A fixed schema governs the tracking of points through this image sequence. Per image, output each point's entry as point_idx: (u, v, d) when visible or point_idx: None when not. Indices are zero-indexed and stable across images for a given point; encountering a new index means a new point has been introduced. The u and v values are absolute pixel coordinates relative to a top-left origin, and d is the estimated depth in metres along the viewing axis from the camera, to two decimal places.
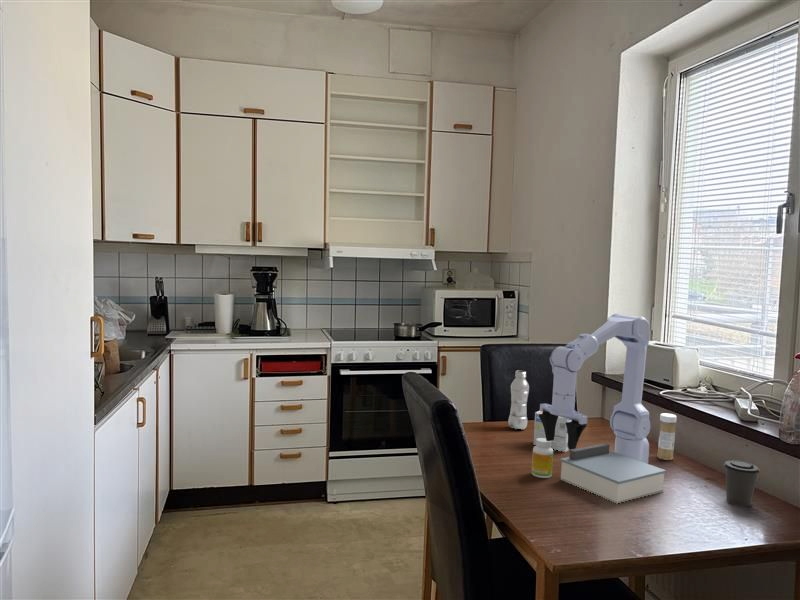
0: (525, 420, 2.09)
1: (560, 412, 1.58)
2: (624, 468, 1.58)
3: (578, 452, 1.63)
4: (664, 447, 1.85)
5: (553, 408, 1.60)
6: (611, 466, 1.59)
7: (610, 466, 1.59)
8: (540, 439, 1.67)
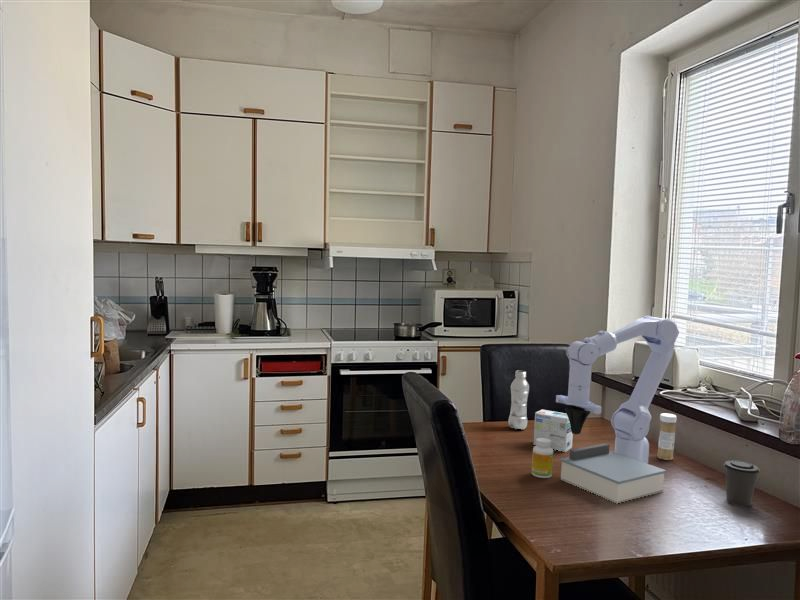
0: (525, 420, 2.09)
1: (576, 403, 1.68)
2: (624, 468, 1.58)
3: (578, 452, 1.63)
4: (664, 447, 1.85)
5: (569, 399, 1.70)
6: (611, 466, 1.59)
7: (610, 466, 1.59)
8: (540, 439, 1.67)
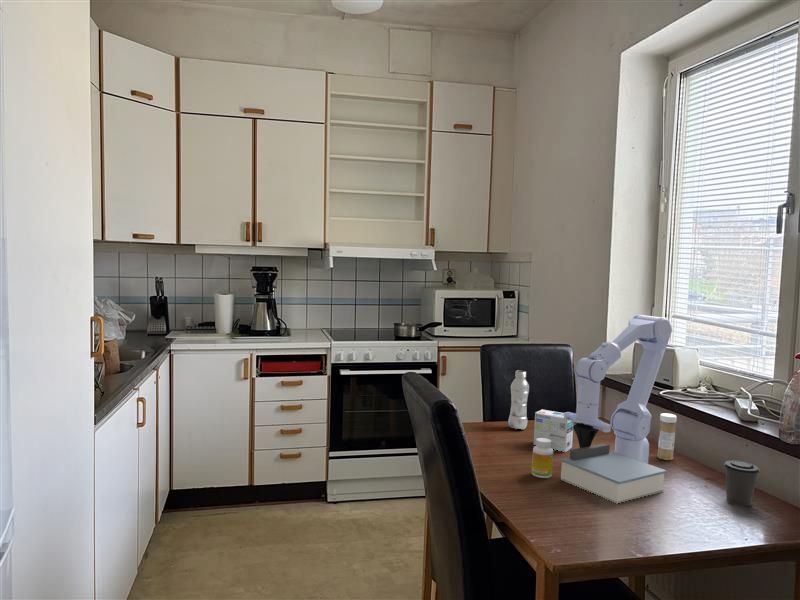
0: (525, 420, 2.09)
1: (584, 420, 1.65)
2: (625, 468, 1.58)
3: (578, 453, 1.63)
4: (664, 446, 1.85)
5: (577, 417, 1.67)
6: (611, 466, 1.59)
7: (610, 466, 1.59)
8: (540, 439, 1.67)
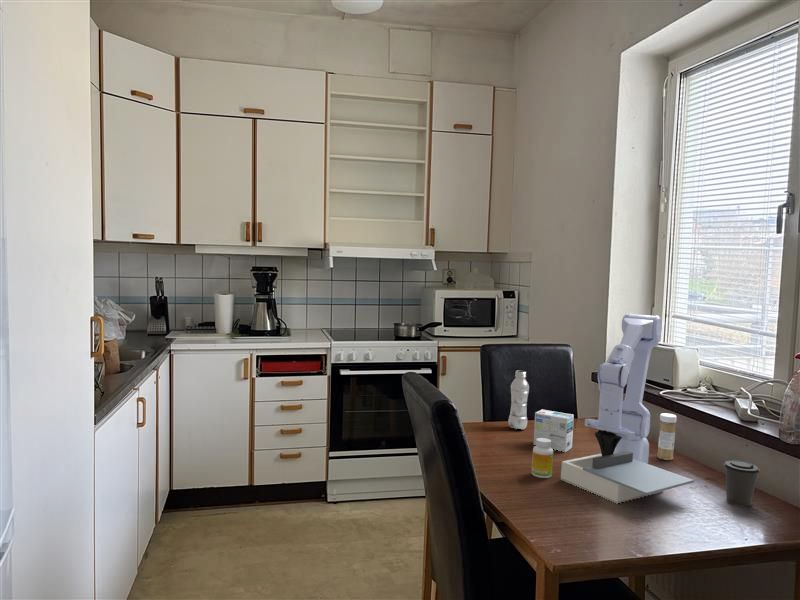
0: (525, 420, 2.09)
1: (607, 428, 1.59)
2: (650, 477, 1.52)
3: (601, 461, 1.57)
4: (664, 447, 1.85)
5: (600, 423, 1.61)
6: (636, 475, 1.53)
7: (635, 475, 1.53)
8: (540, 439, 1.67)
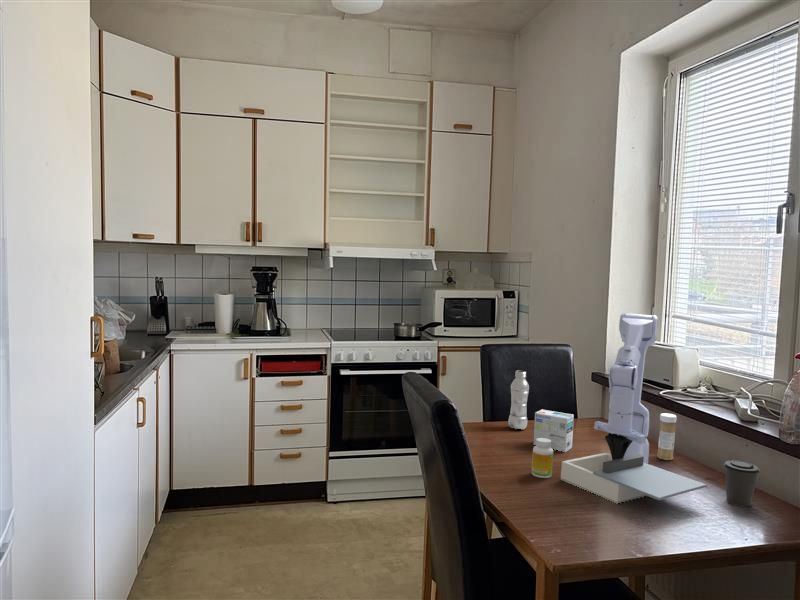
0: (525, 420, 2.09)
1: (618, 431, 1.56)
2: (662, 482, 1.49)
3: (612, 465, 1.54)
4: (664, 447, 1.85)
5: (610, 427, 1.58)
6: (648, 480, 1.50)
7: (647, 480, 1.50)
8: (540, 439, 1.67)
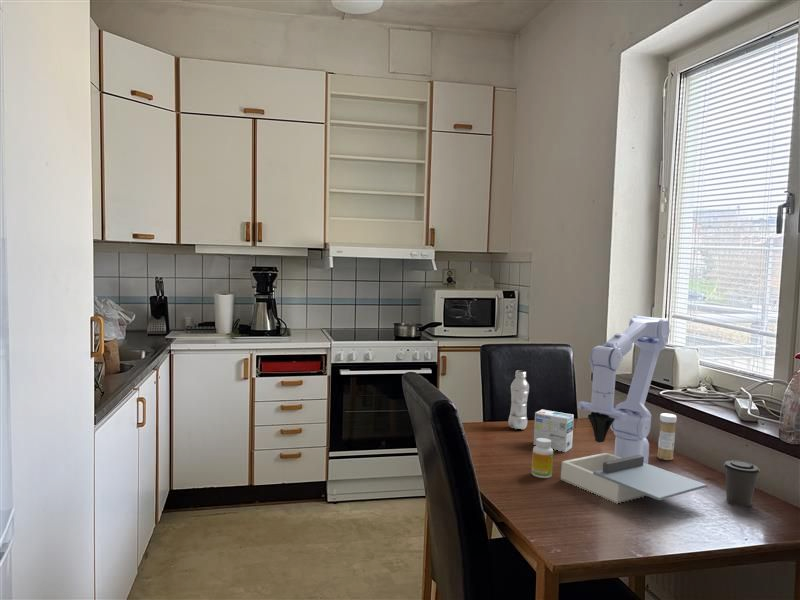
0: (525, 420, 2.09)
1: (600, 410, 1.62)
2: (662, 482, 1.49)
3: (612, 465, 1.54)
4: (664, 447, 1.85)
5: (593, 406, 1.63)
6: (648, 480, 1.50)
7: (647, 480, 1.50)
8: (540, 439, 1.67)
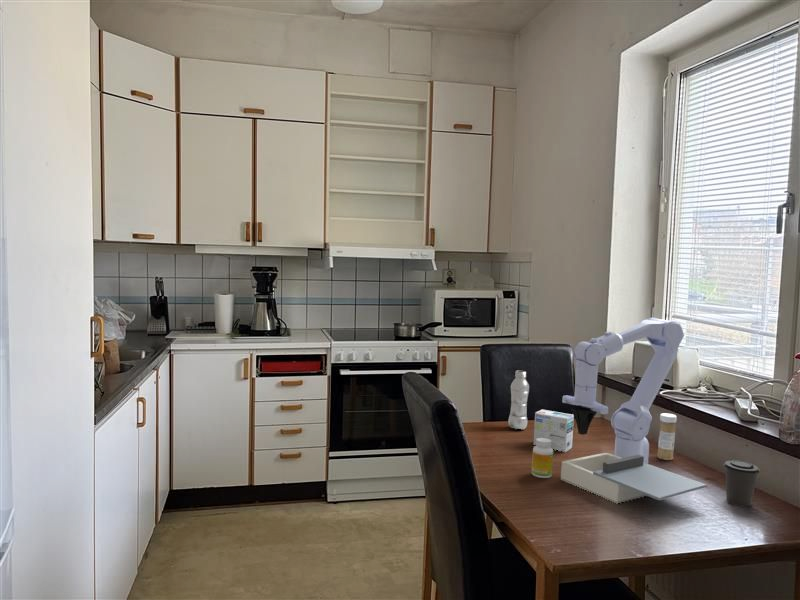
0: (525, 420, 2.09)
1: (582, 403, 1.68)
2: (662, 482, 1.49)
3: (612, 465, 1.54)
4: (664, 447, 1.85)
5: (576, 399, 1.70)
6: (648, 480, 1.50)
7: (647, 480, 1.50)
8: (540, 439, 1.67)
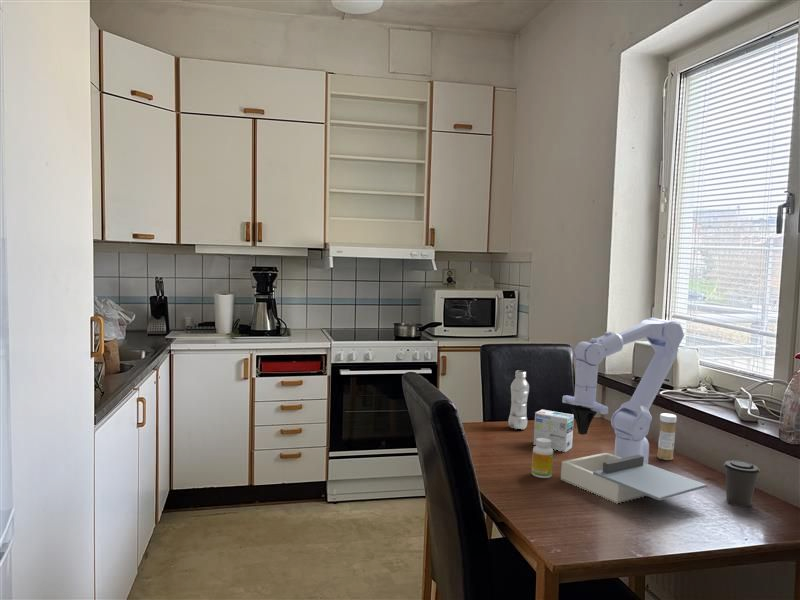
0: (525, 420, 2.09)
1: (582, 403, 1.68)
2: (662, 482, 1.49)
3: (612, 465, 1.54)
4: (664, 447, 1.85)
5: (576, 399, 1.70)
6: (648, 480, 1.50)
7: (647, 480, 1.50)
8: (540, 439, 1.67)
